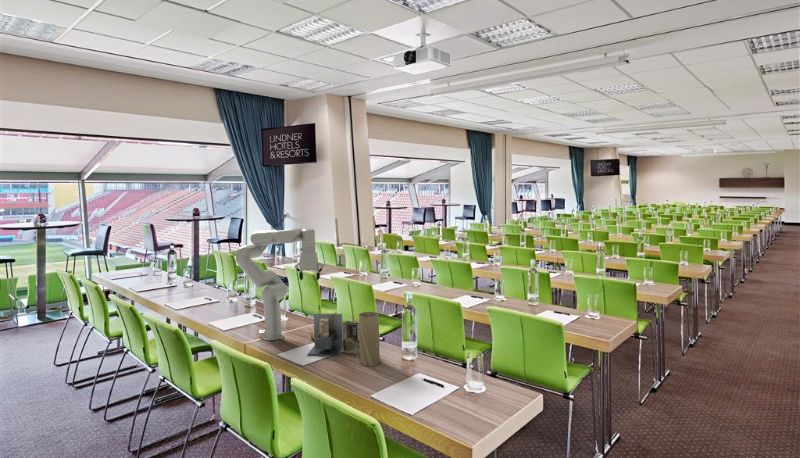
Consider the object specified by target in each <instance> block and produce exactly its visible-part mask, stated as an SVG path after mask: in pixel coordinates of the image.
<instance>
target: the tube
mask: <svg viewBox="0 0 800 458" xmlns="http://www.w3.org/2000/svg"><path fill="white" fill-rule="evenodd" d="M358 322H359V340H360V353H359V364H360V365H361V366H365V367H374V366H378V365H379V364H380V363H381V362H380V358H381V357H380V314H379V313H378V312H377V311H375V312H374V311H366V312H365V311H364V312H361V313H359V314H358Z"/></svg>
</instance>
